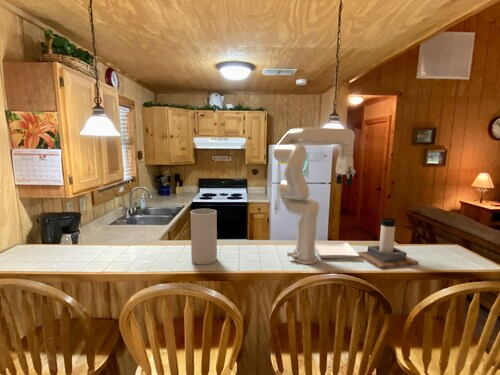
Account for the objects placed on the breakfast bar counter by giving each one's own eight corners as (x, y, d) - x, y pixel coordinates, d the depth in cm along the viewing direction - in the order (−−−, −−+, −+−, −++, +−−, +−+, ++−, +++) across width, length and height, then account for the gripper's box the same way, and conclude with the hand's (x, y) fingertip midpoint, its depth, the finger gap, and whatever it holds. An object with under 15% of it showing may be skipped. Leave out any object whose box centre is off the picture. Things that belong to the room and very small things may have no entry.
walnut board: (380, 269, 128) (380, 266, 128) (356, 255, 145) (356, 252, 145) (418, 264, 134) (418, 261, 133) (390, 251, 151) (390, 249, 151)
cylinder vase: (203, 253, 145) (202, 207, 142) (221, 258, 139) (221, 210, 135) (186, 261, 134) (185, 212, 131) (205, 267, 128) (205, 215, 125)
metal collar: (384, 262, 132) (385, 255, 131) (367, 253, 144) (367, 246, 143) (405, 260, 135) (406, 252, 134) (387, 251, 147) (387, 244, 146)
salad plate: (360, 261, 138) (360, 255, 137) (318, 260, 138) (318, 254, 138) (346, 246, 159) (346, 241, 158) (309, 246, 159) (309, 240, 159)
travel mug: (395, 259, 136) (398, 220, 133) (382, 259, 136) (385, 220, 133) (389, 254, 142) (392, 217, 139) (376, 254, 142) (379, 217, 140)
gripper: (331, 153, 158) (329, 183, 160) (349, 154, 141) (347, 186, 143) (342, 153, 160) (340, 182, 162) (361, 154, 143) (359, 186, 145)
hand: (343, 184), depth 153 cm, fingers open, 9 cm apart
